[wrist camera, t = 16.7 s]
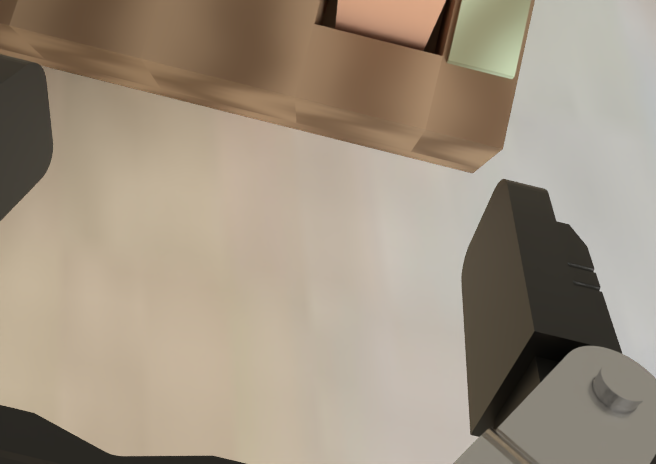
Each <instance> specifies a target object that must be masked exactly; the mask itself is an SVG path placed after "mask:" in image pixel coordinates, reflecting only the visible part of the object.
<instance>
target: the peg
mask: <svg viewBox="0 0 656 464" xmlns="http://www.w3.org/2000/svg"><path fill="white" fill-rule="evenodd" d="M445 2H446V0H338V5H337V15H336V26H335V29H337V30H341V31H345V32H349V33H353V34H357V35H361V36H365V37H369V38H373V39H377V40H381V41H385V42H389V43H393V44H397V45H401V46H405V47H409V48H413V49H417V50H421V51H424V48H425V46H426V44H427V42H428V40H429V37H430V35H431V33H432V31H433V28H434V26H435V24H436V22H437V20H438V17H439V15H440V13H441V11H442V8H443V6H444V4H445Z"/></svg>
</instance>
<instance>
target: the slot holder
mask: <svg viewBox="0 0 656 464" xmlns="http://www.w3.org/2000/svg"><path fill="white" fill-rule="evenodd" d="M534 1H535V0H446V2H445V4H444V6H443V8H442V11H441V13H440V15H439V17H438V20H437V22H436V24H435V26H434V28H433V31H432V33H431V35H430V37H429V40H428V42H427V44H426V46H425V48H424V51H421V50H417V49H413V48H409V47H405V46H401V45H397V44H393V43H389V42H385V41H381V40H377V39H373V38H369V37H365V36H361V35H357V34H353V33H349V32H345V31H341V30H337V29H335V26H336V15H337V5H338V0H0V54H2V55H6V56H10V57H15V58H19V59H23V60H27V61H31V62H35V63H38V64H39V65H42V66H46V67H50V68H54V69H58V70H62V71H66V72H70V73H74V74H78V75H82V76H86V77H90V78H94V79H98V80H102V81H106V82H110V83H114V84H118V85H122V86H126V87H130V88H134V89H138V90H142V91H146V92H150V93H154V94H158V95H162V96H166V97H170V98H174V99H178V100H182V101H186V102H190V103H194V104H198V105H202V106H206V107H210V108H214V109H218V110H222V111H226V112H230V113H234V114H238V115H242V116H246V117H250V118H254V119H258V120H262V121H266V122H270V123H274V124H278V125H282V126H286V127H290V128H294V129H298V130H302V131H306V132H310V133H314V134H318V135H322V136H326V137H330V138H334V139H338V140H342V141H346V142H350V143H354V144H358V145H362V146H366V147H370V148H374V149H378V150H382V151H386V152H390V153H394V154H398V155H402V156H406V157H410V158H414V159H418V160H422V161H426V162H430V163H434V164H438V165H442V166H446V167H450V168H454V169H458V170H462V171H466V172H470V173H474V172H475V171H476V170H477V169H479V168H480V167H481V166H482V165H484V164H485V163H486V162H487V161H488V160H490V159H491V158H492V157H493V156H495V155H496V154H497V153H498V152H500V151H501V150H502V149H503V145H504V141H505V136H506V131H507V127H508V122H509V117H510V113H511V108H512V103H513V99H514V94H515V89H516V85H517V80H518V76H519V71H520V66H521V62H522V57H523V52H524V48H525V43H526V38H527V34H528V29H529V24H530V20H531V15H532V11H533V6H534Z"/></svg>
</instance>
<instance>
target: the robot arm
mask: <svg viewBox="0 0 656 464" xmlns="http://www.w3.org/2000/svg"><path fill="white" fill-rule="evenodd" d="M52 152H53V139H52V130H51V120H50V111H49V101H48V92H47V82H46V76H45V73H44V70H43V68H42V67H41V66H40V65H39V64H38V63H35V62H31V61H27V60H23V59H19V58H15V57H10V56H6V55H2V54H0V221H1V220H2V219H3V218H4V217H5V216H6V215H7V214H8V213H9V212H10V211H11V209H12V208H13V207H14V206H15V205H16V204H17V203H18V202H19V201H20V200H21V199H22V198H23V197H24V196H25V195H26V194H27V193H28V192H29V191H30V190H31V189H32V188H33V187H34V186H35V185H36V184H37V183H38V182H39V180H40V179H41V178H42V177H43V176H44V175H45V173H46V171H47V169H48V167H49V165H50V162H51V158H52ZM593 271H594V266H593V263H592V260H591V257H590V254H589V251H588V248H587V246H586V245H585V243H584V242H583V241H582V240H581V239H580V237H579V236H578V235H577V234H576V233H575V231H574V230H573V229H572V228H571V226H570V225H569V224H565V223H561V222H556V219H555V215H554V212H553V208H552V204H551V201H550V197H549V194H548V191H547V190H546V189H543V188H539V187H535V186H531V185H526V184H522V183H518V182H514V181H510V180H506V179H502V180H501V181H500V182H499V183H498V184H497V186H496V188H495V190H494V192H493V194H492V196H491V198H490V201H489V203H488V205H487V207H486V209H485V212H484V214H483V216H482V218H481V220H480V223H479V225H478V227H477V229H476V231H475V234H474V236H473V238H472V240H471V242H470V245H469V247H468V250H467V252H466V256H465V259H464V264H463V269H462V297H463V314H464V332H465V349H466V366H467V383H468V400H469V417H470V434H471V435H474V436H478V437H479V438H478V439H477V440H476V441H475V442H474V443H473V444H472V445H471V446H470V447H469V448H468V449H467V450H466V451H465V452H464V453H463V454H462V455H461V456H460V457H459V458H458V459H457V460H456V461H455V462H454V463H453V464H656V379H655V377H654V376H653V375H652V374H650V373H649V372H648V371H647V370H646V369H645V368H644V367H642V366H641V365H640V364H638V363H637V362H635V361H634V360H632V359H631V358H629V357H627V356H625V355H623V354H622V351H621V348H620V345H619V342H618V339H617V336H616V333H615V330H614V327H613V324H612V321H611V318H610V315H609V312H608V309H607V306H606V303H605V300H604V297H603V293H602V292H600V291H599V290H600V284H599V281H598V278H597V275H596V273H593ZM0 464H245V463H241V462H237V461H233V460H229V459H224V458H220V457H216V456H115V455H111V454H109V453H106V452H104V451H102V450H101V449H99V448H97V447H95V446H93V445H91V444H90V443H88V442H86V441H84V440H82V439H81V438H79V437H77V436H75V435H73V434H71V433H70V432H68V431H66V430H64V429H62V428H60V427H59V426H57V425H55V424H53V423H51V422H49V421H48V420H46V419H44V418H42V417H40V416H38V415H37V414H35V413H31V412H27V411H23V410H19V409H15V408H10V407H6V406H2V405H0Z"/></svg>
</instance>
